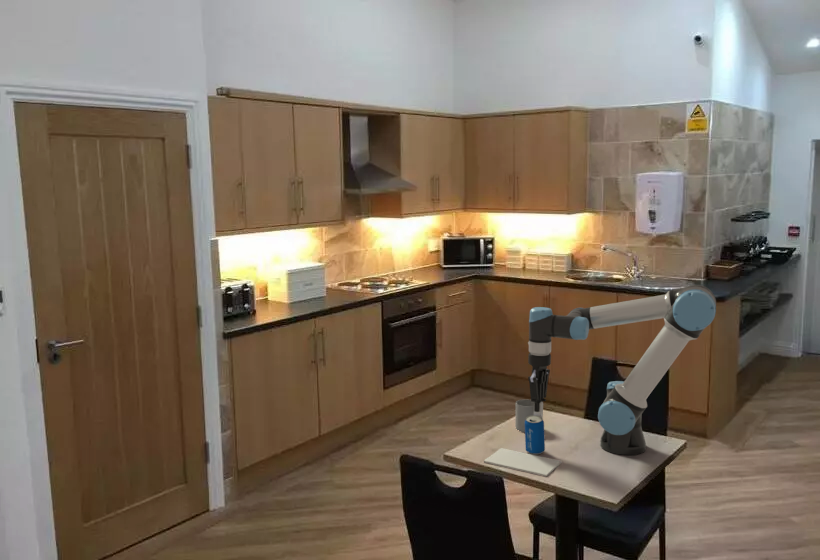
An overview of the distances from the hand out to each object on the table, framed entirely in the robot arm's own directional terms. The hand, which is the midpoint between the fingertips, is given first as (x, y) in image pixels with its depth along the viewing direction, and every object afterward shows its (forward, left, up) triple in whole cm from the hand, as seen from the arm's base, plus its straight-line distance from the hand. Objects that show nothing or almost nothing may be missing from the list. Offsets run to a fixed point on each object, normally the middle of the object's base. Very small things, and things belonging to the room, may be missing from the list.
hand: (538, 419), depth 246 cm
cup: (+12, -17, -11) cm, 23 cm away
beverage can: (0, +3, -11) cm, 11 cm away
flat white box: (0, +13, -11) cm, 17 cm away
